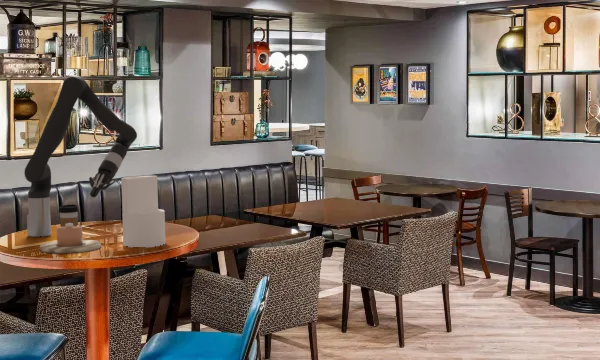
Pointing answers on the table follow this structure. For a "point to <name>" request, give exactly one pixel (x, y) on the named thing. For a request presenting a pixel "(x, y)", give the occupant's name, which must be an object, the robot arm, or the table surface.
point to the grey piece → (142, 212)
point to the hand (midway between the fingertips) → (92, 196)
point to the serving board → (86, 246)
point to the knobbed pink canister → (69, 235)
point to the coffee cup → (68, 215)
